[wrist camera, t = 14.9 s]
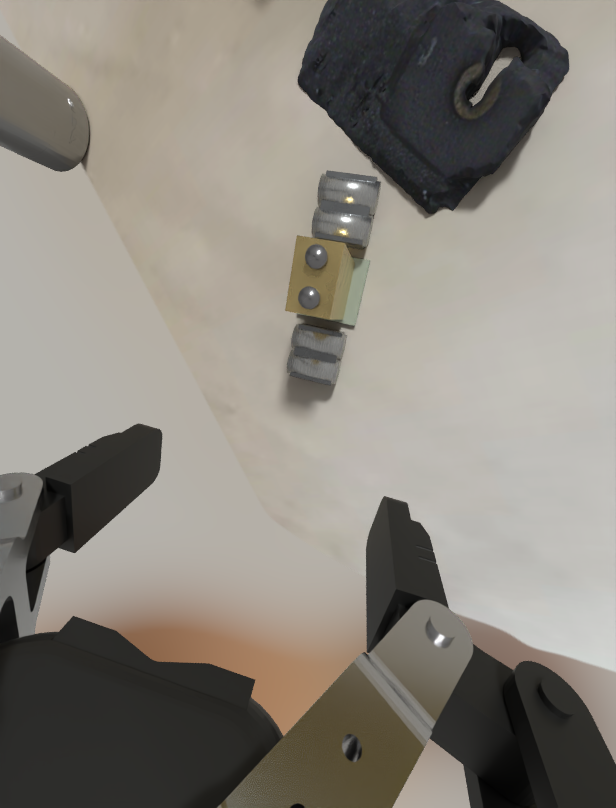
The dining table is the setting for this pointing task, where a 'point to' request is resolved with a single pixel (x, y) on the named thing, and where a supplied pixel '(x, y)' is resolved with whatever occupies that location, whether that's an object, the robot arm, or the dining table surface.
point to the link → (320, 278)
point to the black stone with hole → (431, 87)
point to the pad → (354, 292)
